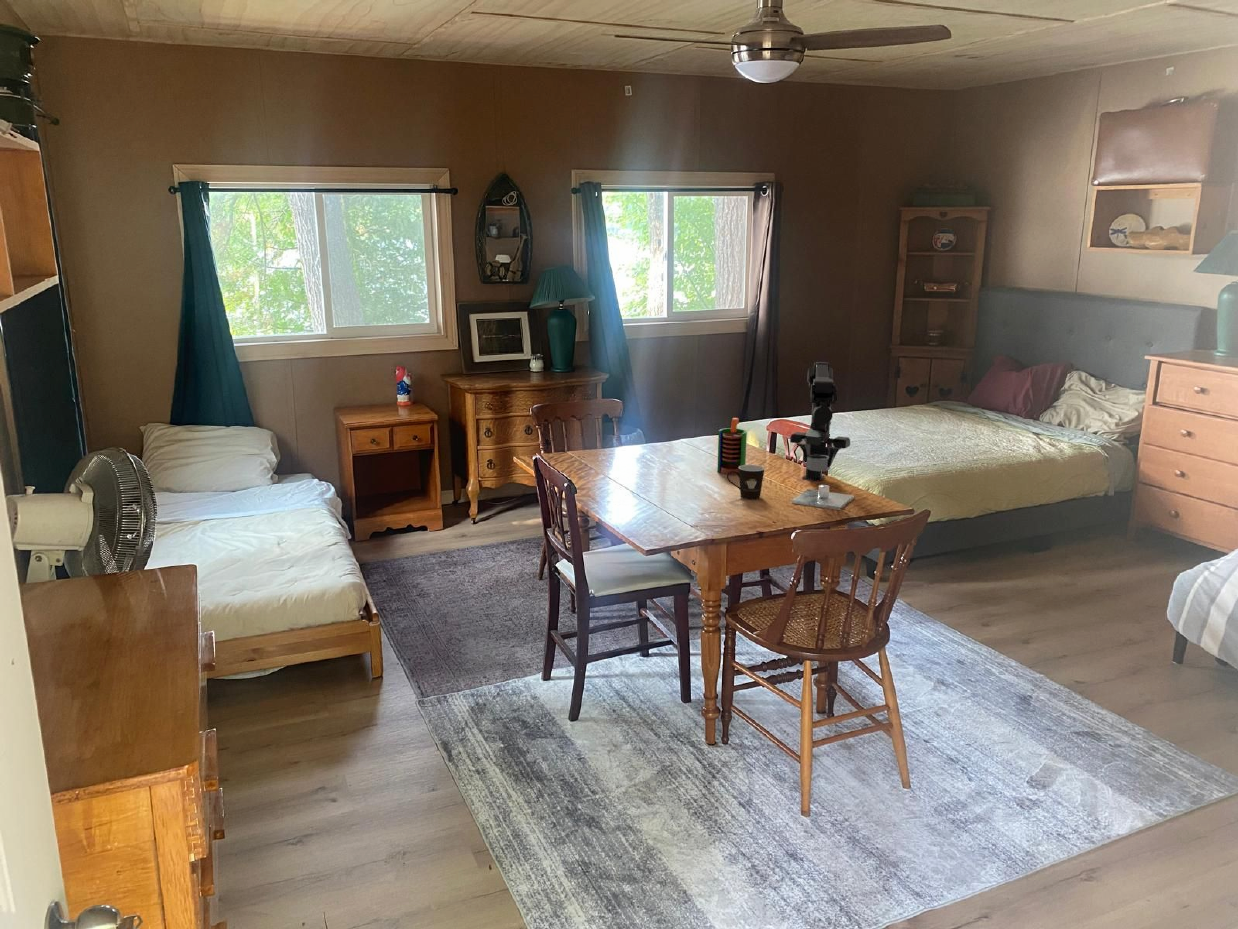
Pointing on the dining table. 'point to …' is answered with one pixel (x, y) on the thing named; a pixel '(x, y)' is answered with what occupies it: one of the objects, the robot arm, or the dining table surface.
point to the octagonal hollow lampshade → (818, 462)
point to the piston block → (823, 498)
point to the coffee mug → (749, 481)
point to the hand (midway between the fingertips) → (818, 465)
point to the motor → (731, 448)
